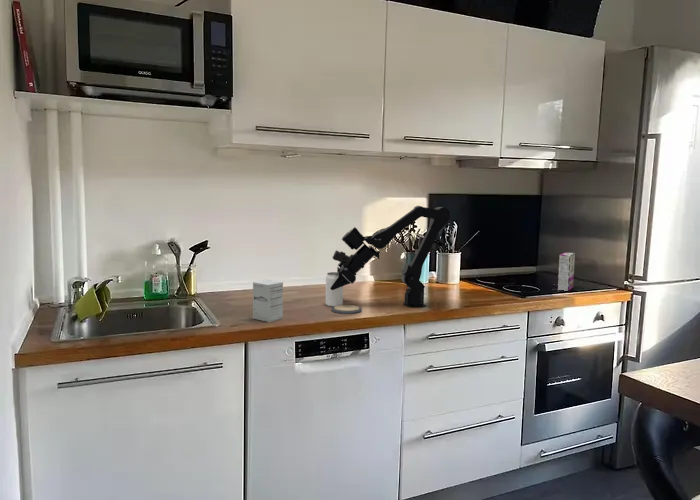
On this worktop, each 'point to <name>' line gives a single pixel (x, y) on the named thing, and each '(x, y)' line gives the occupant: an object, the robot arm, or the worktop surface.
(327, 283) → the can
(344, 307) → the trivet
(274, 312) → the supplement box
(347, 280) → the robot arm
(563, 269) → the candy bar box
